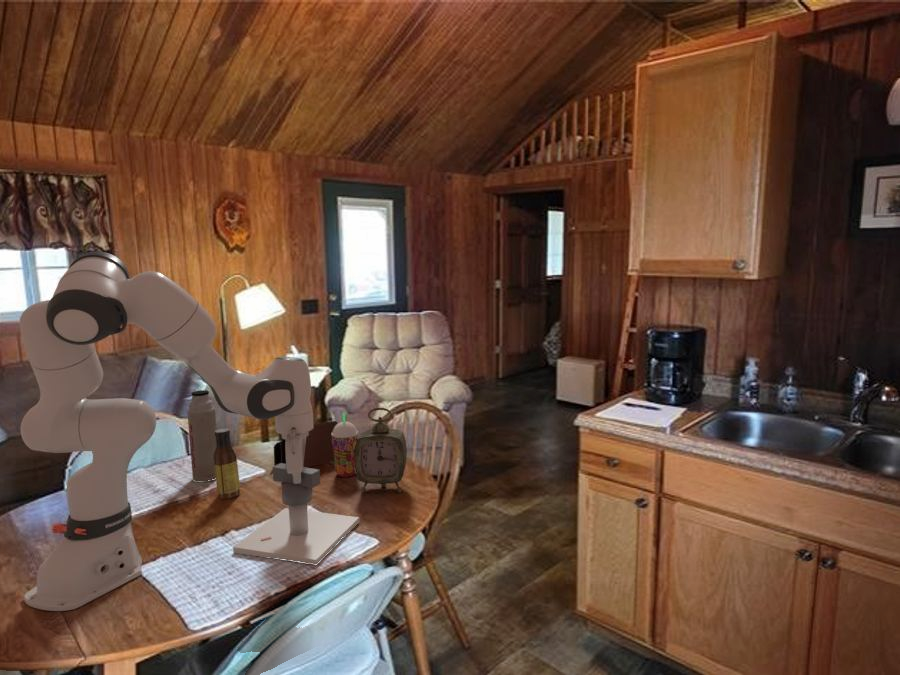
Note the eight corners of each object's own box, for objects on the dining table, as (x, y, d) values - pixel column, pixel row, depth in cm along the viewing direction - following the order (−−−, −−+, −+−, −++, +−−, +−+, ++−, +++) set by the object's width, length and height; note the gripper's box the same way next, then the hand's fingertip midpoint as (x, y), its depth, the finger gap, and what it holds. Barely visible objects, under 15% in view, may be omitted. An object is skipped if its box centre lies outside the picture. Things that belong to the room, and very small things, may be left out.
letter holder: (340, 458, 200) (339, 418, 198) (290, 474, 185) (288, 432, 183) (323, 451, 207) (321, 413, 205) (274, 467, 192) (271, 426, 190)
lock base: (316, 566, 130) (314, 526, 128) (233, 552, 136) (230, 514, 135) (359, 522, 150) (358, 488, 149) (285, 513, 157) (283, 479, 156)
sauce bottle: (244, 491, 172) (239, 426, 169) (234, 500, 166) (229, 433, 163) (223, 490, 173) (218, 426, 170) (212, 499, 166) (207, 433, 164)
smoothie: (328, 477, 182) (325, 416, 179) (340, 468, 190) (338, 409, 187) (352, 480, 179) (349, 417, 176) (364, 470, 187) (361, 410, 184)
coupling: (326, 497, 143) (324, 466, 141) (307, 509, 136) (305, 477, 135) (288, 490, 148) (286, 460, 146) (268, 501, 141) (266, 469, 140)
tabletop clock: (355, 495, 168) (352, 411, 164) (361, 483, 177) (358, 403, 173) (405, 495, 167) (402, 411, 164) (408, 483, 176) (406, 403, 173)
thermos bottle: (193, 484, 178) (185, 395, 174) (192, 475, 185) (185, 390, 181) (220, 479, 181) (214, 392, 177) (219, 471, 189) (213, 387, 185)
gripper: (306, 434, 129) (310, 492, 131) (308, 410, 149) (312, 462, 151) (277, 436, 128) (281, 496, 130) (283, 412, 148) (287, 464, 150)
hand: (298, 477), depth 141 cm, fingers closed on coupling, 5 cm apart
